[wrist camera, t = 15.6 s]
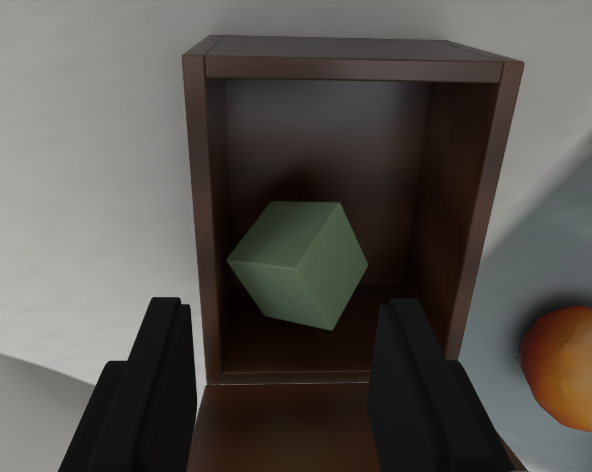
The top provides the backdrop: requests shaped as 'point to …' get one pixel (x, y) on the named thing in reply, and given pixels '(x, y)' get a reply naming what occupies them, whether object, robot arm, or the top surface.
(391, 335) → the robot arm
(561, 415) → the fruit
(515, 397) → the top surface
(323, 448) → the lid
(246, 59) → the box
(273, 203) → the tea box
